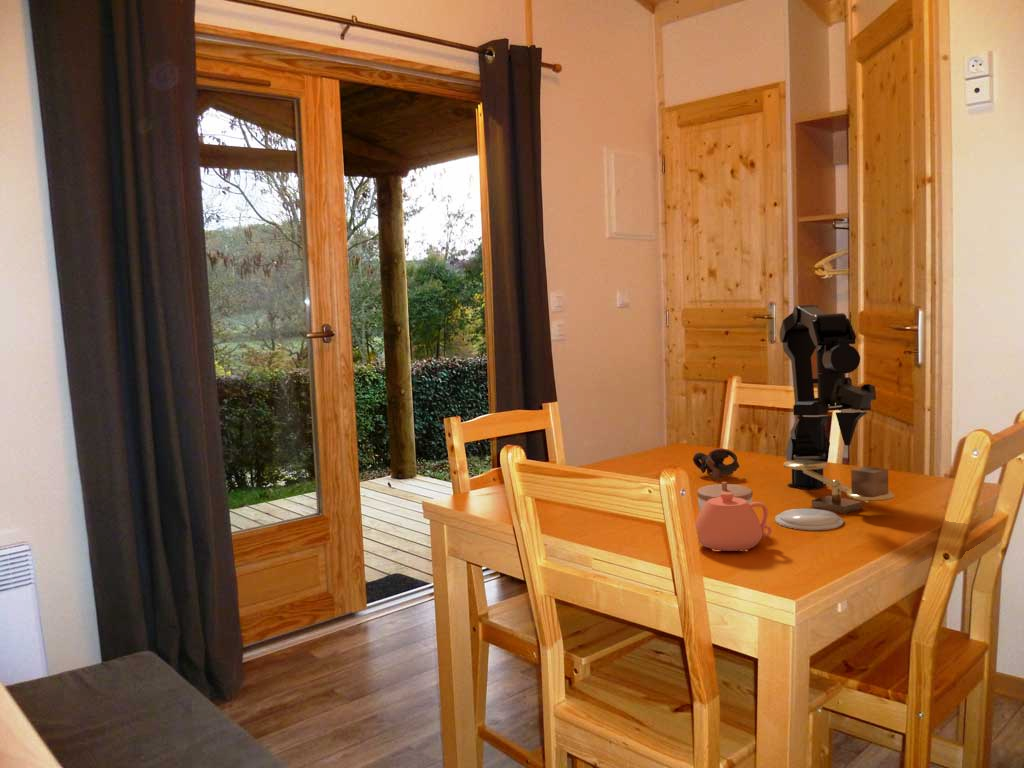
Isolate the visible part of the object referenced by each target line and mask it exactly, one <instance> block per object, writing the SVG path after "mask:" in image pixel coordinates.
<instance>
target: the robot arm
mask: <svg viewBox="0 0 1024 768" xmlns="http://www.w3.org/2000/svg"><path fill="white" fill-rule="evenodd" d="M856 339H857V335H856V333H855V331H854V327H853V325H852V323H851V321H850V318H848V317H847V315H846V314H845V313H844V312H842V313H841V312H840V313H839V312H837V313H836V312H835V313H828V312H826V311H824V310H822V309H821V308H819V307H818V306H817V305H815V304H805V305H802V304H801V305H797V306H794V307H793V310H792V312H791V313H790V314H789V315H787V316H786V317H785V318H784V319H783V320H782V322H781V325H780V330H779V340H780V342H781V343H782V349H783V352H784V353H785V355H787V357H788V358H789V360H790V361H791V362H790V363H791V373H792V383H793V385H792V386H793V397H794V404H793V406H792V412H793V416H795V422H794V424H793V426H792V428H791V430H790V432H789V433H790V434H789V435H790V437H789V438H788V441H787V445H786V448H785V458H786V461H792V460H816V461H822V462H825V463H827V462H828V460H829V453H830V446H831V442H830V441H829V438H828V436H827V435H826V427H825V423H826V422H827V421H828V419H830V415H829V416H828V413H829V412H831V411H839V412H835V416H836V419H837V422H838V428H839V430H840V434H841V437H842V441H843V444H844V446H851V444H852V440H853V437H854V434H855V431H856V427H857V425H858V423H859V421H860V419H861V418H862V417H863V416H866V415H867V414H868V411H871V410H872V401H876V400H877V396H876V395H877V393H876V392H877V391H876V386H875V385H873V384H870V383H864V384H863V385H862V386H859V385H853V380H852V379H851V377H847V374H849V373H850V374H851V373H852V372H854V371H855V370H857V369H858V368H859V366H860V362H861V356H860V353H859V351H858V350H857V349H856V347H854V346H851V345H856ZM814 352H815V359H816V361H815V363H816V378H814V375H813V367H812V366H813V365H812V357H813V355H814ZM815 384H816V385H817V386H816V389H817V390H816V391H817V397H815V389H814V388H815V387H814V385H815ZM812 471H814V472H816V473H818V474H820V475H823V476H824V468H823V469H818V470H812ZM787 486H788V487H792V488H796V489H797V488H798V489H803V490H807V491H811V490H815V489H818V488H823V487H827V484H826V483H824V482H822V481H820V480H818V479H816V478H814V477H811V476H809V475H807V474H805V473H803V471H802V470H795V469H791V482H789V483H787Z"/></svg>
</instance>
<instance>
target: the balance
mask: <svg viewBox="0 0 1024 768" xmlns="http://www.w3.org/2000/svg"><path fill="white" fill-rule="evenodd" d="M783 467H784V468H786V469H788V470H789V469H790V470H792V469H795V470H802V471H803V473H805V474H807V475H809V476H811V477H814V478H816V479H818V480H820V481H822V482H823V483H825V484H826V485H829V486H831V495H826V496H822V497H819V498H818V497H817V498H814V499H811V507H812V508H813V509H819V510H826V511H830V512H833V513H838V512H840V513H839V514H843V513H845V514H848V513H847V512H849V513H851V511H852V512H855V511H854V510H856V511H858V510H857V509H859V510H862V509H863V502H865V503H868V504H869V503H871V502H883V501H889V500H892V499H894V498H895V493H893V491H890V490H888V494H884V495H880V496H877V497H869V496H863V495H858V494H852V487H849V486H847V485H844V484H842V482H841V480H839V479H838V478H837V479H831V478H829V477H828V476H825V475H824V474H823V475H820V474H818V473H816V472H814V471H812V470H818V469H823V470H824V469H826V468H827V462H822V461H816V460H792V461H788V460H786V461H784V462H783ZM842 492H844V493H846V496H847V498H844V497H842ZM849 498H850V499H849ZM861 508H862V509H861Z"/></svg>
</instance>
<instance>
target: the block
mask: <svg viewBox="0 0 1024 768" xmlns="http://www.w3.org/2000/svg"><path fill="white" fill-rule="evenodd" d="M850 471H851V473H850V474H851V476H850V477H851V480H850V481H851V489H852V494H858V495H863V496H869V497H877V496H880V495H884V494H888V491H889V469H888V468H882V467H881V468H880V467H875V466H869V465H865V466H861V467H857V468H852V469H850Z"/></svg>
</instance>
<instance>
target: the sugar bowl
mask: <svg viewBox="0 0 1024 768" xmlns="http://www.w3.org/2000/svg"><path fill="white" fill-rule="evenodd" d="M720 495H721V497H717V498H712V499H709V500H708V501H707V502H706V503H705V505H704V506H703V508H702V510H701V511H700V510H699V512H698V513H699V514H698V515H697V518H696V519H695V520H696V521H695V524H694V526H695V525H696V529H697V534H698V539H699V541H698V542H699V543H700V544H701V545H702V546H703V547H705V548H707V549H710V550H712V549H714V550H722V552H723V551H724V552H725V551H727V552H732V551H735V552H736V551H738V550H742V551H745V550H749V549H752V548H754V547H756V546H757V544H758V543H759V542H760V541H761V539H762V537H767V536H769V535H771V534H772V532H773V531H772V527H771V526H770V525H768V524H766V523H767V520H768V516H769V515H768V514H769V511H768V507H767V506H766V505H765V504H764V503H763V502H760V501H752V503H750V504H749V503H748V502H747V501H746V500H745V499H742V498H737V497H733V496H734V493H731V492H723V493H720ZM755 507H760V508H762V511H763V512H762V517H761V521H760V519H759V516H758V515H757V513H756V512H755V510H754V508H755ZM765 529H767V531H765ZM738 552H739V551H738Z"/></svg>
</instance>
